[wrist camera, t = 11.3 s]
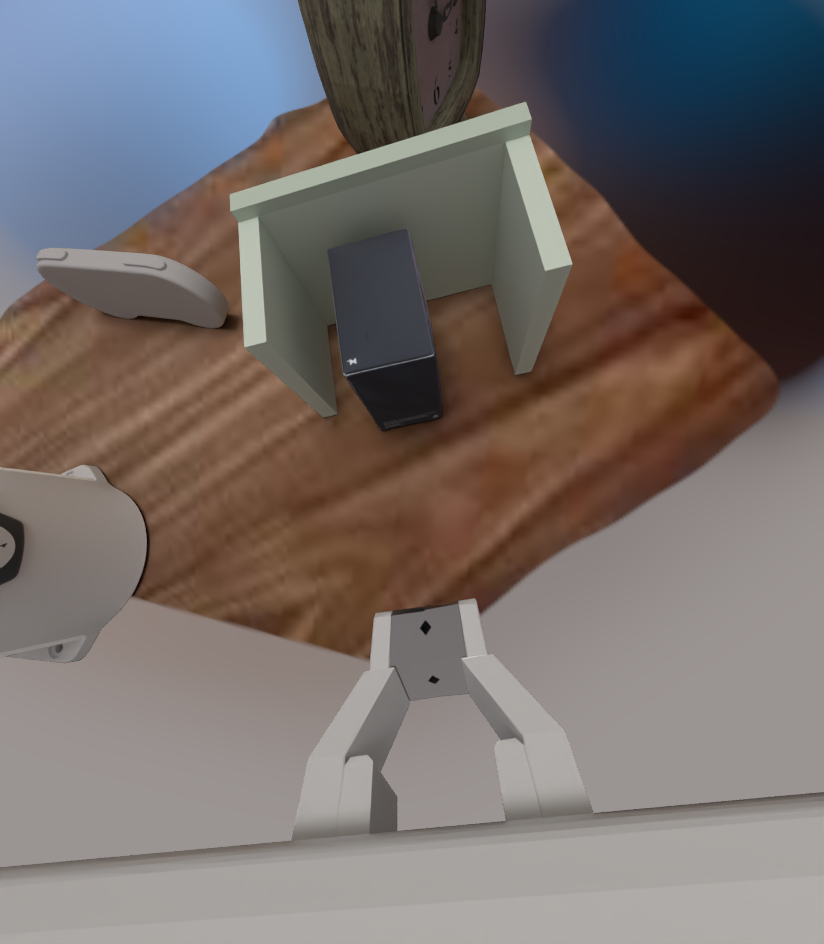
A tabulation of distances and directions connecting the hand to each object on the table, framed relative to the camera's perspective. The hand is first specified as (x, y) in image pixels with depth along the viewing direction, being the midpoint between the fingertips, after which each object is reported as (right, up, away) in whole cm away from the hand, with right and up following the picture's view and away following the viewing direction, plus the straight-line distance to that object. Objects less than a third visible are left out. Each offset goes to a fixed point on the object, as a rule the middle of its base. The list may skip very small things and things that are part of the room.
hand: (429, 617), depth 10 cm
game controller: (-28, +22, +29) cm, 46 cm away
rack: (0, +17, +23) cm, 28 cm away
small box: (-1, +14, +22) cm, 26 cm away
